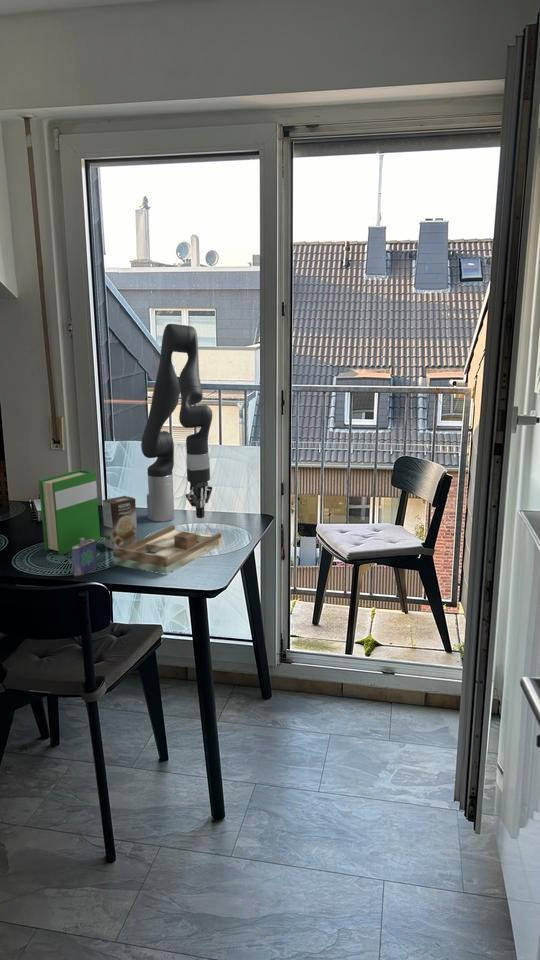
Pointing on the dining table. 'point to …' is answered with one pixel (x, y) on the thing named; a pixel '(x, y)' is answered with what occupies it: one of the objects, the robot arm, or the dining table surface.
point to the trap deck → (163, 551)
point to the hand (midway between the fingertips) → (200, 517)
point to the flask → (84, 557)
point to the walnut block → (185, 540)
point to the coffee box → (119, 521)
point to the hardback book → (69, 510)
